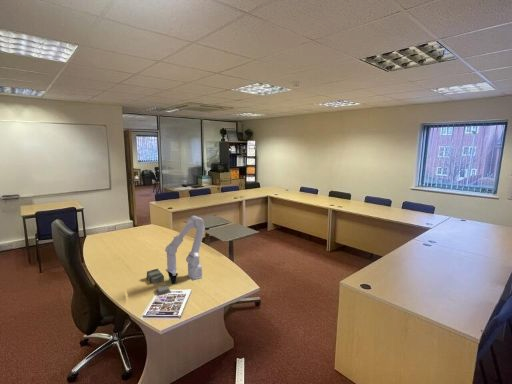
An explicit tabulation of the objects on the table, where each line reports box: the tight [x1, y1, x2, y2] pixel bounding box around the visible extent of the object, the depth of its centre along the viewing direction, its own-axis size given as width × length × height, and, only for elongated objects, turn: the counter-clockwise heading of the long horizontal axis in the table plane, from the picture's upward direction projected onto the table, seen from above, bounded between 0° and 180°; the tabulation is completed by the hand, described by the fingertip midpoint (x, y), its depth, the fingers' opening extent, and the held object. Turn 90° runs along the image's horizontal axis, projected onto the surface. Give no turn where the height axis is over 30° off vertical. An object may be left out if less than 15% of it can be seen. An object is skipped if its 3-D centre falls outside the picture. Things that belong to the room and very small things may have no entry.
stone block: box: [146, 268, 165, 285], centre depth 189 cm, size 9×14×5 cm, turn 36°
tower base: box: [155, 286, 172, 297], centre depth 172 cm, size 8×8×2 cm
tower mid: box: [156, 284, 170, 294], centre depth 172 cm, size 6×6×2 cm
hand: (172, 281), depth 184 cm, fingers open, 6 cm apart
